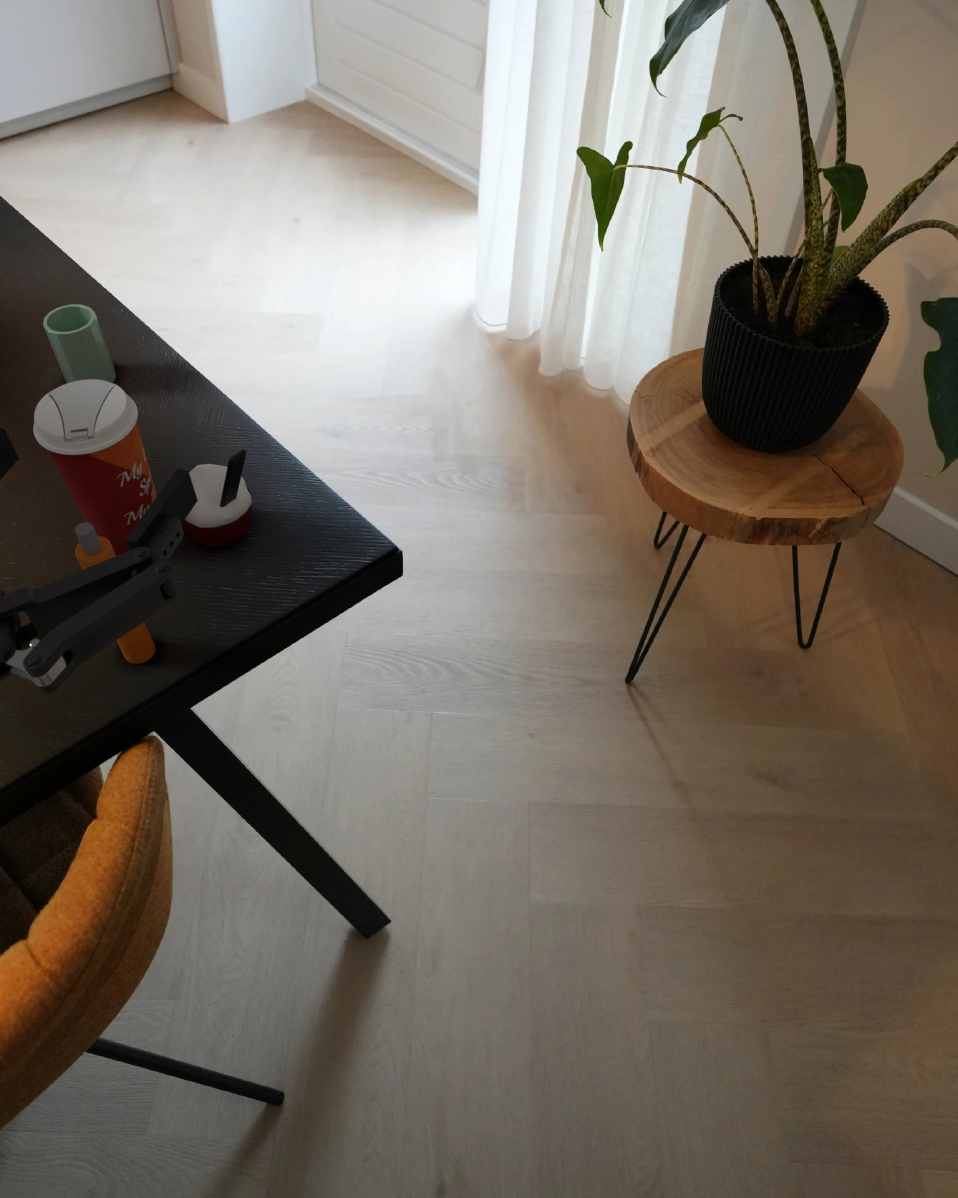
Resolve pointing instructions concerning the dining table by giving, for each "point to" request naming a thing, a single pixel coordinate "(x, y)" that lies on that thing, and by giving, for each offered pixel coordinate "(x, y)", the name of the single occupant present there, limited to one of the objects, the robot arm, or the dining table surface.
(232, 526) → the cocoa
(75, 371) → the pencil cup
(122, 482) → the paper cup
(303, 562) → the dining table surface
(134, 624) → the robot arm
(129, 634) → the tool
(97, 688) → the dining table surface
